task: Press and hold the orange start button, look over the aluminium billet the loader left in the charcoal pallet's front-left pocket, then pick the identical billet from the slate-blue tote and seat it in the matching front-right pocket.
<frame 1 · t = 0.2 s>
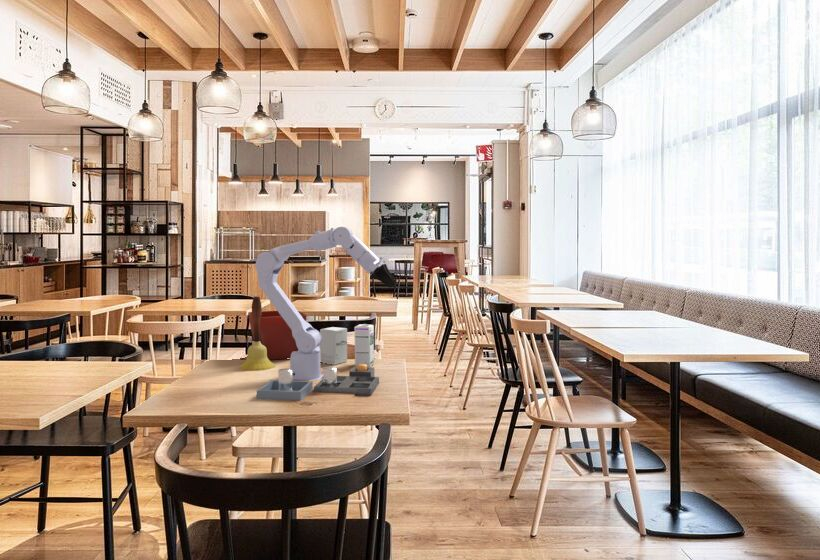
hand: (394, 285, 192), 31 cm above the table, tool tilted 45°, fingers open, 7 cm apart
plant pot: (277, 357, 233), on the table
syrup box: (364, 365, 218), on the table
handbell: (257, 367, 214), on the table
pallet: (347, 388, 184), on the table
tote: (285, 395, 175), on the table
billet: (285, 393, 175), point 1 cm above the table, touching tote
start button housing: (362, 378, 197), on the table
start button: (362, 369, 197), point 3 cm above the table, slide at 0.0 cm
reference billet: (330, 391, 181), resting in pallet
supplement box: (333, 363, 222), on the table
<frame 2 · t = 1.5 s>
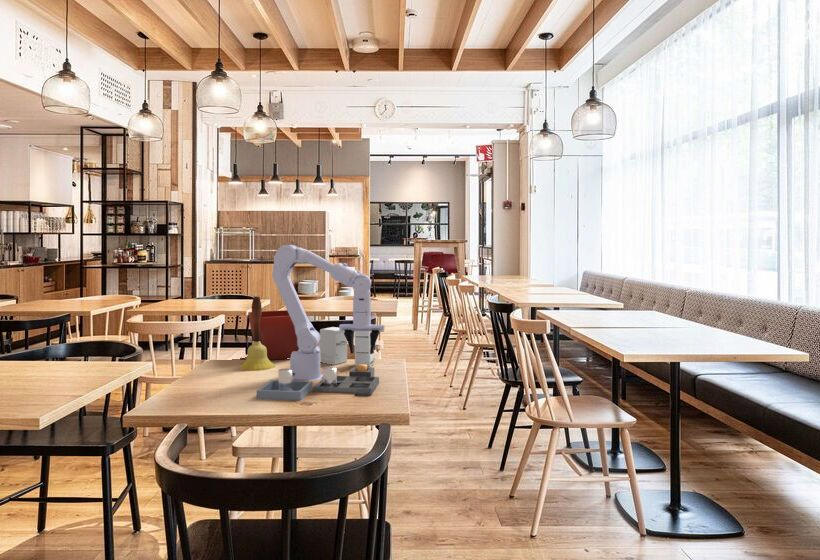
hand: (362, 353, 197), 8 cm above the table, tool pointing down, fingers open, 6 cm apart
nothing on the table moved.
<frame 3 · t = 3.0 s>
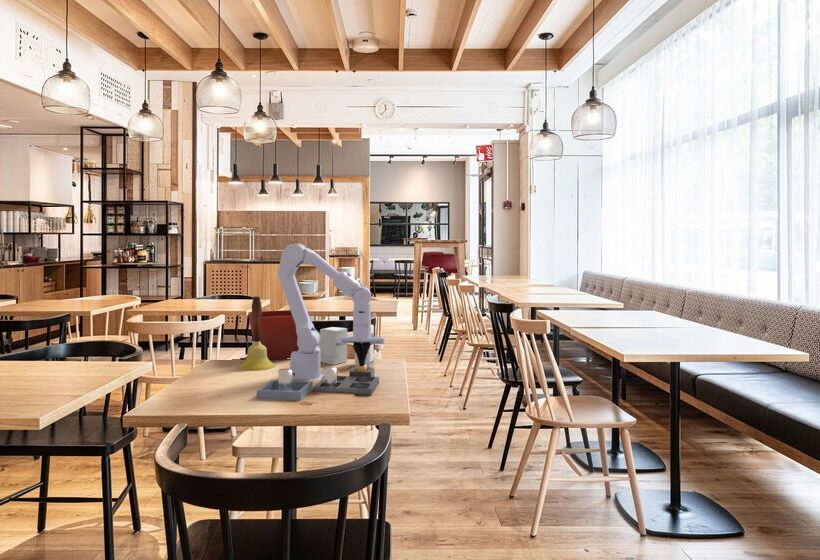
hand: (362, 365, 197), 4 cm above the table, tool pointing down, fingers closed, pressing on start button
start button: (362, 370, 197), point 3 cm above the table, slide at 0.2 cm, touching gripper
everything else where it was.
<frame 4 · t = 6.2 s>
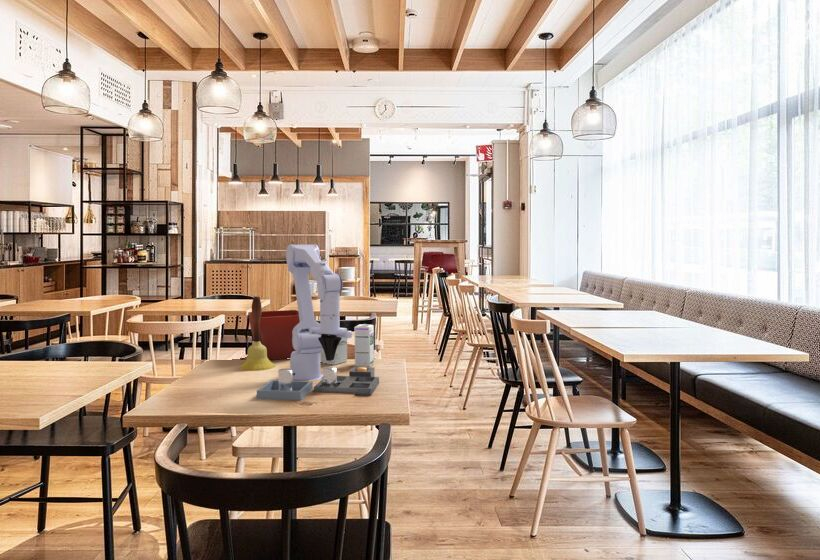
hand: (330, 360, 180), 9 cm above the table, tool pointing down, fingers closed
start button: (362, 372, 197), point 2 cm above the table, slide at 1.0 cm
everything else where it was.
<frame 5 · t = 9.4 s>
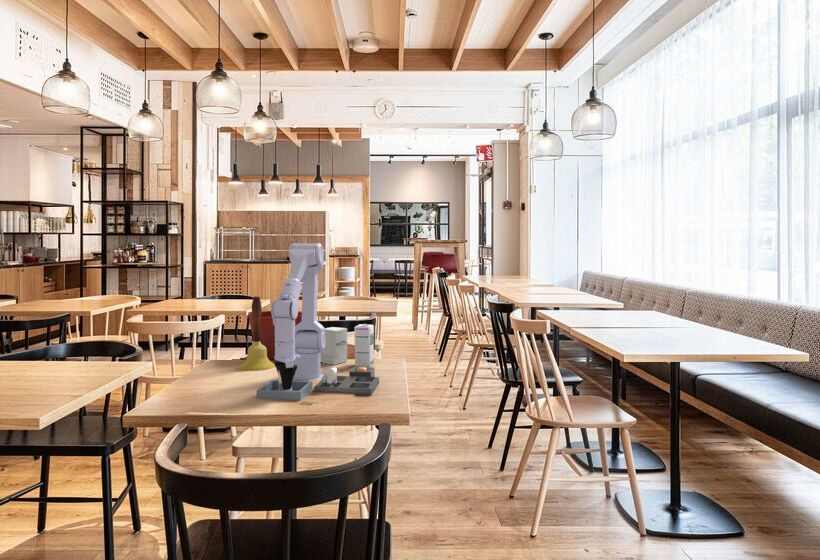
hand: (285, 387, 175), 3 cm above the table, tool pointing down, fingers closed on billet, 4 cm apart
billet: (285, 393, 175), point 1 cm above the table, touching gripper, tote
everything else where it was.
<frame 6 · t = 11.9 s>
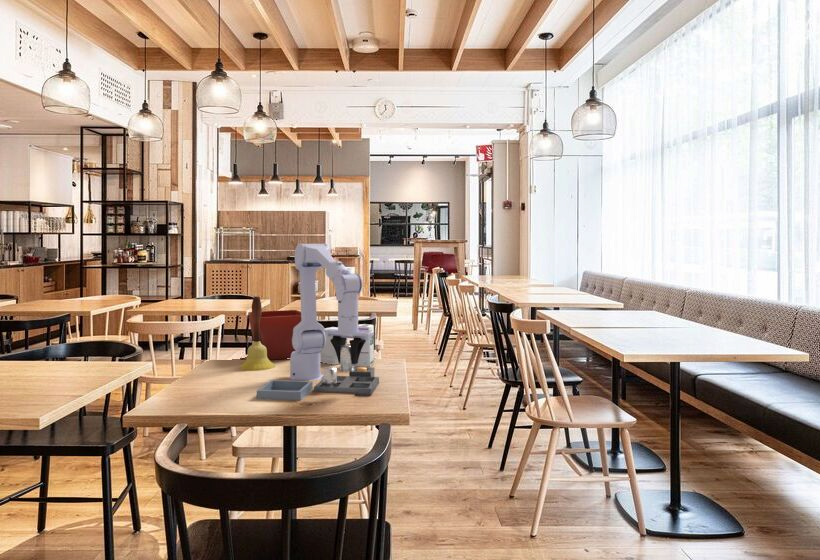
hand: (348, 363, 174), 10 cm above the table, tool pointing down, fingers closed on billet, 4 cm apart
billet: (347, 370, 174), point 8 cm above the table, touching gripper
everything else where it was.
when the fingers open (3 cm above the table, at t = 14.5 s): billet stays where it is, resting in pallet.
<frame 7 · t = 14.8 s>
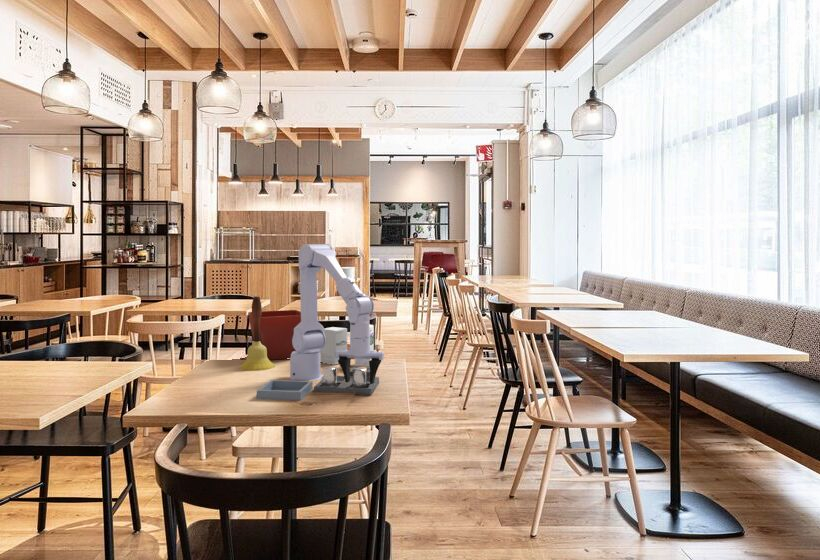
hand: (359, 382, 180), 3 cm above the table, tool pointing down, fingers open, 7 cm apart
billet: (359, 392, 180), resting in pallet
everything else where it was.
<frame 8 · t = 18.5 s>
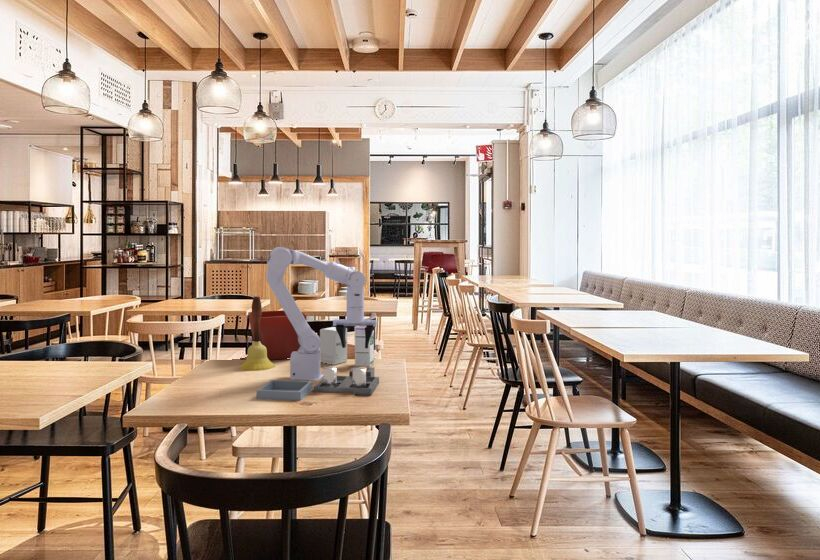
hand: (355, 347, 201), 9 cm above the table, tool pointing down, fingers open, 7 cm apart
nothing on the table moved.
at the end: billet 0.5 cm from the target spot on the pallet, point 0.0 cm above the pallet's base; billet tilted 0°; start button slide at 1.0 cm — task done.
